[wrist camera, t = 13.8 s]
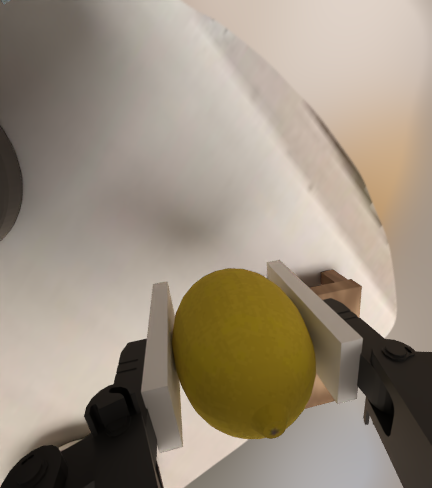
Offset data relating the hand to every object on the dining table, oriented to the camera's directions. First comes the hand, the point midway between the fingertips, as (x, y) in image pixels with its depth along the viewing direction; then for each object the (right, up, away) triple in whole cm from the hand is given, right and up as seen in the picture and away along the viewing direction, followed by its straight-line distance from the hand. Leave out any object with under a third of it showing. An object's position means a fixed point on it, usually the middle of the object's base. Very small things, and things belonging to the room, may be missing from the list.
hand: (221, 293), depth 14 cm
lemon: (0, 0, +1) cm, 1 cm away
